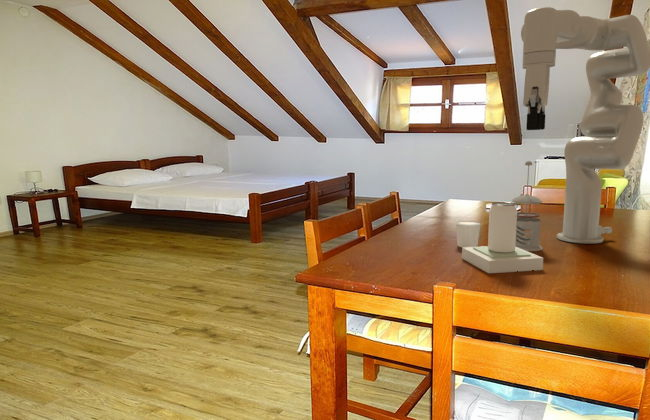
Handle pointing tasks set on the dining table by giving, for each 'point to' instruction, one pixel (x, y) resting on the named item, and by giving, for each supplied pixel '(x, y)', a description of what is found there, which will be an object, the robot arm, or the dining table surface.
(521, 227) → the french press
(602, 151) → the robot arm
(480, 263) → the base
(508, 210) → the can
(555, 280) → the dining table surface
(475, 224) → the white cup
